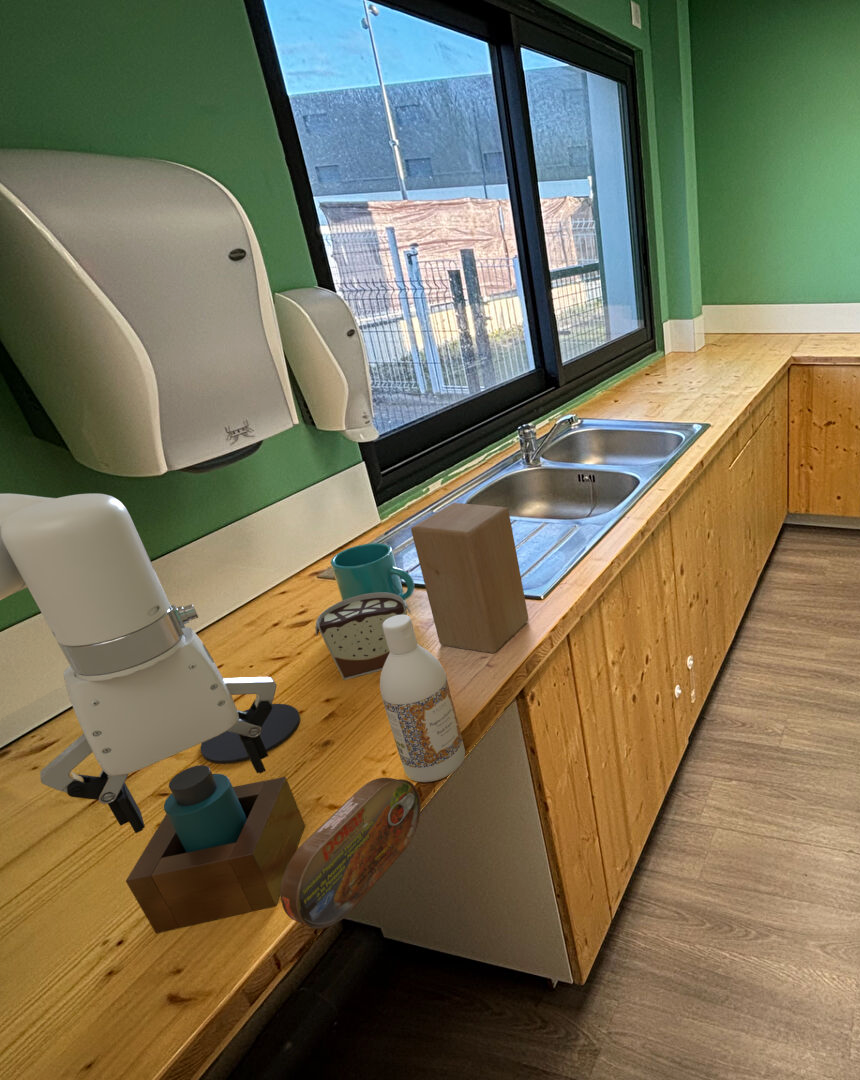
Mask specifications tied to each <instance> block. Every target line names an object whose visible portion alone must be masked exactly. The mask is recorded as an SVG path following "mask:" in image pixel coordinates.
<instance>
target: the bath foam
mask: <svg viewBox="0 0 860 1080" xmlns="http://www.w3.org/2000/svg"><path fill="white" fill-rule="evenodd" d="M382 627H383V631H384V634H385V638H386V641H387V645H388V648H389V651H390V653H389V655H388V657H387V659H386V662H385V664H384V666H383V669H382V670H381V673H380V677H379V678H380V679H379V689H380V690H379V691H380V697H381V699H382V703H383V706H384V710H385V713H386V716H387V720H388V723H389V726H390V730H391V733H392V735H393V739H394V742H395V745H396V749H397V752H398V755H399V759H400V761H401V764H402V768H403V771H404V773H405V775H406V776H407V778H408V779H410V780H411V781H414V782H416V783H432V782H436V781H439V780H442V779H445V778H446V777H448V776H450V775H452V774H453V773H454V772H456V771H457V770H458V769H459V768H460V766H461V765H462V764H463V763H464V761H465V757H466V748H465V744H464V741H463V736H462V732H461V728H460V724H459V719H458V717H457V713H456V709H455V705H454V701H453V697H452V693H451V688H450V685H449V680H448V677H447V674H446V672H445V669H444V667H443V665H442V663H441V662H440V660H439V659H438V658H437V657H436V656H435V655H434V654H433V653H431V652H430V651H429V650H427V649H426V648H424V647H423V646H421V645H420V644H418V639H417V636H416V635H417V634H416V632H415V628H414V624H413V621H412V618H411V616H409V615H408V614H406V615H396V616H392V617H390V618H388V619H386V620H385V621H384V622H383V624H382Z"/></svg>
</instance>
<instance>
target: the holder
mask: <svg viewBox="0 0 860 1080" xmlns="http://www.w3.org/2000/svg"><path fill="white" fill-rule="evenodd" d="M233 789H234V791H235V793H236V795H237V798H238V800H239V802H240V804H241V807H242V809H243V811H244V813H245V815H246V818H247V820H246V823H245V825H244V827H243V829H242V831H241V833H240V836H239V838H238V840H237V842H236V843H231V844H226V845H221V846H217V847H212V848H207V849H202V850H197V851H193V852H188V853H186V851H185V849H184V847H183V845H182V843H181V841H180V839H179V837H178V835H177V833H176V832H175V830H174V828H173V826H172V824H171V822H170V820H169V818H168V816H167V814H166V813H165V816H164V817H163V819H162V820H161V822H160V823H159V825H158V826H157V828H156V830H155V831H154V833H153V834H152V837H151V838H150V840H149V841H148V843H147V845H146V847H145V848H144V850H143V851H142V853H141V855H140V857H139V858H138V859H137V861H136V863H135V865H134V866H133V868H132V869H131V871H130V873H129V875H128V876H127V878H126V880H125V883H126V885H127V886H128V888H129V889H130V891H131V893H132V895H133V896H134V898H135V900H136V902H137V903H138V905H139V907H140V908H141V911H142V912H143V914H144V915H145V917H146V919H147V921H148V923H149V924H150V927H151V928H152V929H153V931H154V934H159V933H163V932H168V931H174V930H176V929H181V928H185V927H190V926H195V925H198V924H203V923H207V922H212V921H216V920H221V919H224V918H230V917H234V916H237V915H242V914H247V913H251V912H256V911H260V910H264V909H269V908H272V907H276V906H277V904H278V902H279V899H280V888H281V883H282V879H283V875H284V873H285V870H286V868H287V866H288V863H289V862H290V860H291V858H292V857H293V855H294V854H295V852H296V851H297V850H298V848H299V847H298V846H299V843H300V841H301V838H302V835H303V833H304V830H305V828H306V823H305V822H304V819H303V816H302V814H301V811H300V809H299V806H298V804H297V801H296V799H295V797H294V794H293V792H292V789H291V786H290V784H289V782H288V779H287V776H283V777H282V776H281V777H277V778H272V779H267V780H261V781H255V782H251V783H245V784H241V785H236V786H233Z"/></svg>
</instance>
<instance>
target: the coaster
mask: <svg viewBox="0 0 860 1080" xmlns="http://www.w3.org/2000/svg"><path fill="white" fill-rule="evenodd" d="M249 709H250V708H247V709H245V710H242V711H243V712H246V713H247V712H248V710H249ZM300 722H301V716H300V713H299V710H297V708H296V707H294V706H292V705H290V704H286V703H272V710H271V712H270V714H269V715H268V717H267V719H266V720H265V722H264V724H263V725H262V727H261V729H262V731H261V734H260V737H261V740H262V742H263V744H264V747H265V749H266V751H267V753H268V752H270V751H272V750H274V749H275V748H277V747H279V746H280V745H282V744H283V743H285V742H286V741H287V740H288V739H289V738H290V737H292V735H293V734H294V733H295V732H296V730H297V729H298V727H299V725H300ZM200 754H201V755H202V757H203V759H205V760H206V761H208V762H210V763H213V764H219V765H228V764H235V763H236V764H237V763H240V762H245V761H250V759H249V757H248V754H247V752H246V750H245V748H244V745H243V743H242V741H241V739H240V736H239V734H236V733H232V732H229V731H226V732H224V733H222V734H220V735H218V736H216V737H214V738H212V739H209V740H207V741H205V742H203V743H200Z"/></svg>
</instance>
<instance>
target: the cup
mask: <svg viewBox="0 0 860 1080" xmlns="http://www.w3.org/2000/svg"><path fill="white" fill-rule="evenodd" d="M330 567H331V569H332V573H333V576H334V578H335V582H336V585H337V588H338V592H339V594H340V595H339V596H340V598H341V601H343V600H346V599H348V598H351V597H355V596H359V595H363V594H369V593H379V592H382V593H392V594H396V595H398V596H400V597H401V598H402V599H403V600H404V601H405V602H406V603H407V599H409V598H410V597H411V596H412V595H413V594H414V592H415V586H416V585H415V581H414V579H413V577H412V576H411V575H410V573H409V572H407V571H406V570H404V569H402V568H399V567H397V562H396V558H395V555H394V552H393V548H392V547H391V546H390V545H389V544H386V543H379V542H374V543H364V544H359V545H355V546H352V547H349V548H346V549H344V550H342V551H339V552H338V553H336V554H335V555H334V556H333V557H332V558H331V559H330ZM401 579H402V580H403V581H404V582H405V584H406V588H407V589H406V592H404V589H403V588H404V587H403V586H402V582H401Z"/></svg>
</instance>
